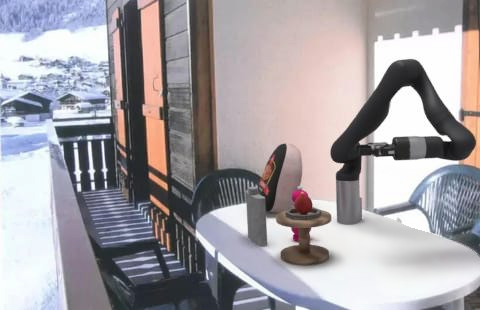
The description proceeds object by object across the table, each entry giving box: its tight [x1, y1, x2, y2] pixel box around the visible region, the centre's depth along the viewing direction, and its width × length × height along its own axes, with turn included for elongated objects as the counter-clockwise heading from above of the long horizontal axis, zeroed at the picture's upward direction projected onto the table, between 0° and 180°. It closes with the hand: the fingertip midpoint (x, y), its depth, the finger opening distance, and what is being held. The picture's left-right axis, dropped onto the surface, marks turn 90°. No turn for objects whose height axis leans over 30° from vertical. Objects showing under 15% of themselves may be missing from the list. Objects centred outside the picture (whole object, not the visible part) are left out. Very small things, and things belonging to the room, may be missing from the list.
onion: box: [293, 192, 314, 215], centre depth 180 cm, size 6×6×8 cm
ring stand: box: [275, 206, 332, 266], centre depth 181 cm, size 18×18×16 cm
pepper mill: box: [290, 185, 312, 243], centre depth 199 cm, size 7×7×20 cm
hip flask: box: [245, 186, 268, 248], centre depth 201 cm, size 16×4×20 cm, turn 16°
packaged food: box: [257, 142, 303, 214], centre depth 239 cm, size 22×20×30 cm
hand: (357, 150), depth 176 cm, fingers open, 8 cm apart
